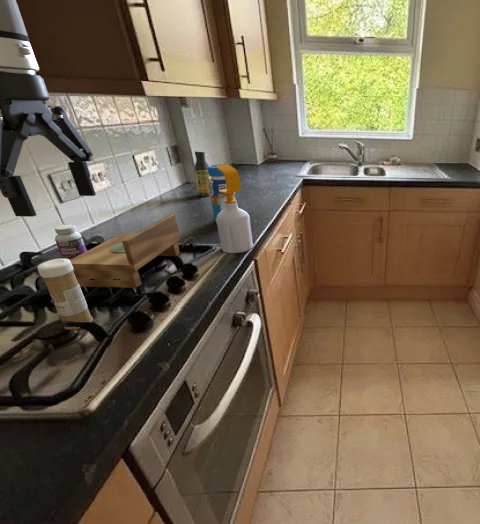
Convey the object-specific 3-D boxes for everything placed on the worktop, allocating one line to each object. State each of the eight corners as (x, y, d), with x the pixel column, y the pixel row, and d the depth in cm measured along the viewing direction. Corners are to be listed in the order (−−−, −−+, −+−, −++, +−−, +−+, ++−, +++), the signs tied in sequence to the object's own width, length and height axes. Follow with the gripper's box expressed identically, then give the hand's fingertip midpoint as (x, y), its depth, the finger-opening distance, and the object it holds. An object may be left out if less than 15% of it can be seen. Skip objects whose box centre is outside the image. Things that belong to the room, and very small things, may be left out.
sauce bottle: (199, 197, 153) (190, 152, 144) (198, 194, 157) (189, 150, 149) (214, 195, 156) (207, 151, 147) (213, 192, 160) (205, 150, 152)
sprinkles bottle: (58, 327, 64) (30, 265, 58) (84, 315, 68) (60, 255, 62) (74, 333, 63) (46, 270, 57) (99, 320, 66) (75, 260, 61)
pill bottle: (64, 266, 87) (50, 231, 83) (63, 259, 91) (50, 226, 87) (90, 260, 90) (78, 227, 86) (88, 254, 94) (76, 222, 90)
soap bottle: (241, 240, 107) (229, 161, 96) (259, 247, 102) (249, 165, 91) (215, 248, 100) (200, 165, 89) (233, 256, 95) (219, 169, 85)
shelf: (72, 286, 78) (53, 239, 73) (128, 252, 96) (115, 212, 91) (141, 287, 78) (127, 240, 73) (184, 253, 96) (174, 214, 91)
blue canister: (218, 217, 127) (209, 164, 118) (241, 217, 128) (233, 164, 119) (211, 224, 119) (200, 168, 111) (235, 224, 120) (226, 168, 111)
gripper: (-58, 64, 40) (17, 227, 50) (92, 78, 63) (124, 189, 72) (-122, 61, 40) (-35, 226, 49) (51, 77, 63) (89, 188, 72)
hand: (60, 204), depth 61 cm, fingers open, 13 cm apart
